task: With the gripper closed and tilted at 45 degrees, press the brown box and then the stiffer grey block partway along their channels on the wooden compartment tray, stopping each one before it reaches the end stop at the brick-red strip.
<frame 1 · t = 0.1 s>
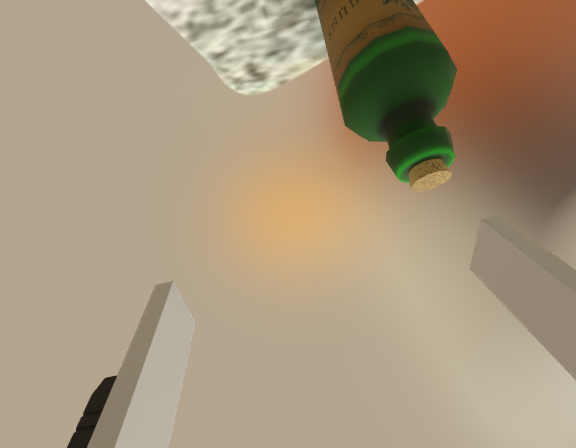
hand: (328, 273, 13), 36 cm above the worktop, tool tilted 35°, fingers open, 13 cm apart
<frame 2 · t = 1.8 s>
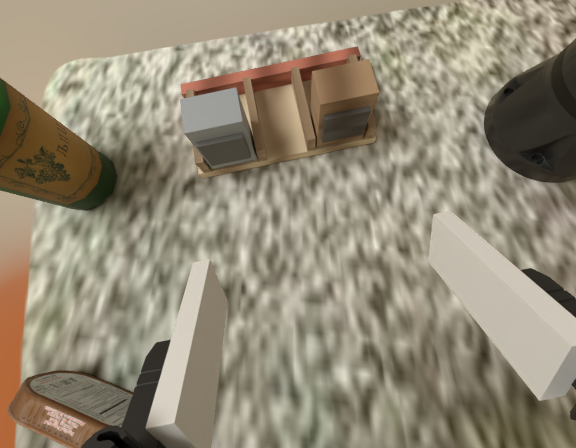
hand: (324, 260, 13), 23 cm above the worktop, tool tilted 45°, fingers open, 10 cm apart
grey block: (223, 135, 34), point 6 cm above the worktop, slide at 0.0 cm
tin: (116, 394, 34), on the worktop
brown box: (340, 110, 33), point 6 cm above the worktop, slide at 0.0 cm
bottle: (90, 182, 41), on the worktop
wooden compartment tray: (279, 122, 41), on the worktop
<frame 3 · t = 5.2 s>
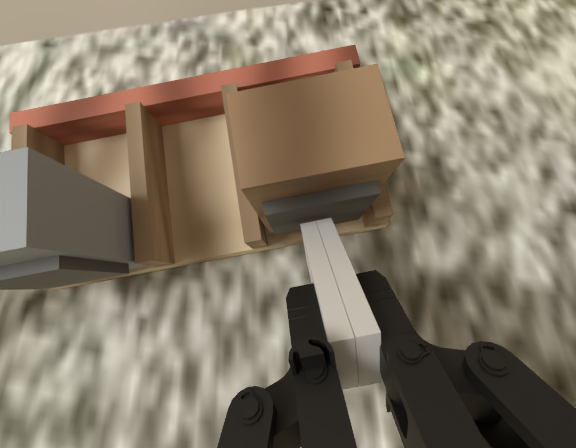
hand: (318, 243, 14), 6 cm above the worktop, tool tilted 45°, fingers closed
grey block: (52, 237, 15), point 6 cm above the worktop, slide at 0.0 cm
brown box: (310, 176, 15), point 6 cm above the worktop, slide at 0.6 cm, touching gripper
wooden compartment tray: (210, 181, 22), on the worktop
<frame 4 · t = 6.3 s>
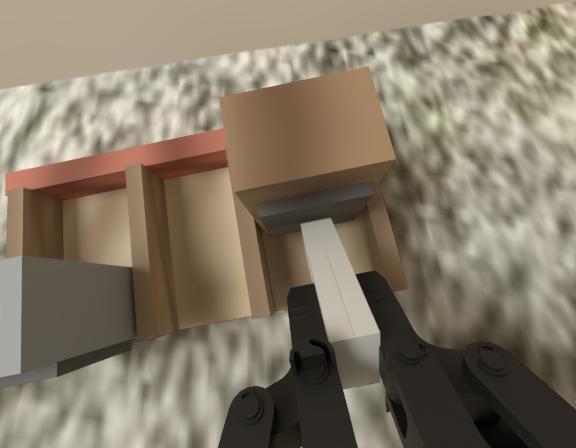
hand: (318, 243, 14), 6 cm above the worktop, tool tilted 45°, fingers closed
grey block: (50, 321, 14), point 6 cm above the worktop, slide at 0.0 cm
brown box: (305, 177, 15), point 6 cm above the worktop, slide at 4.8 cm, touching gripper
wooden compartment tray: (214, 236, 21), on the worktop
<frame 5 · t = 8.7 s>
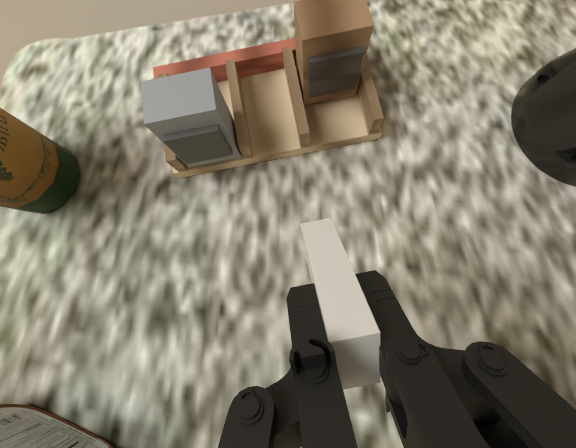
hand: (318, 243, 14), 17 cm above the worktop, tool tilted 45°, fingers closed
grey block: (198, 127, 28), point 6 cm above the worktop, slide at 0.0 cm
tin: (71, 431, 29), on the worktop
brown box: (329, 57, 29), point 6 cm above the worktop, slide at 4.8 cm
bottle: (50, 181, 35), on the worktop
wooden compartment tray: (269, 113, 35), on the worktop
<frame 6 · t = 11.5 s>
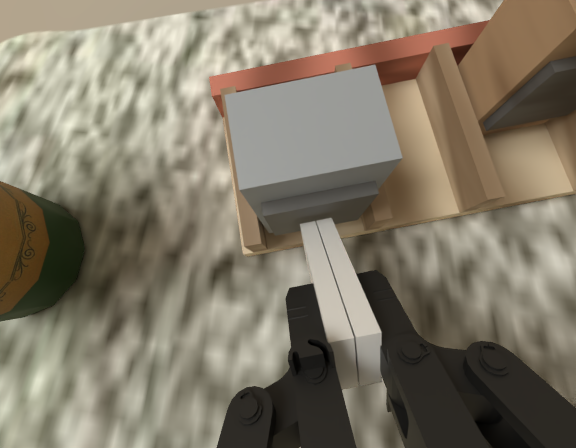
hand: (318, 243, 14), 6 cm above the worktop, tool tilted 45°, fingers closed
grey block: (309, 176, 15), point 6 cm above the worktop, slide at 0.8 cm, touching gripper
brown box: (545, 61, 16), point 6 cm above the worktop, slide at 4.8 cm
bottle: (36, 257, 22), on the worktop
wooden compartment tray: (389, 149, 22), on the worktop
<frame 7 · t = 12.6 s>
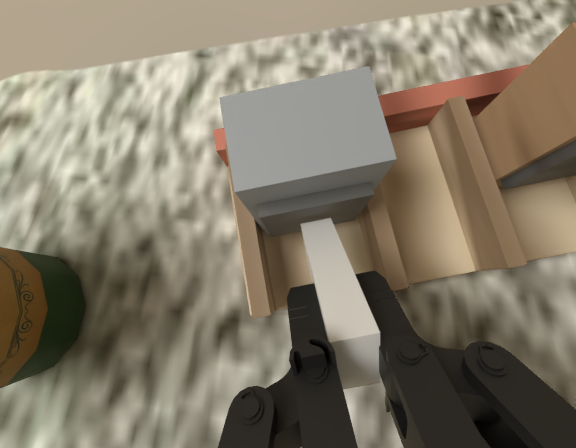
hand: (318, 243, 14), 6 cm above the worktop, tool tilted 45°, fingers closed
grey block: (305, 177, 15), point 6 cm above the worktop, slide at 4.7 cm, touching gripper
brown box: (568, 123, 15), point 6 cm above the worktop, slide at 4.8 cm
bottle: (35, 312, 21), on the worktop
wooden compartment tray: (400, 198, 21), on the worktop
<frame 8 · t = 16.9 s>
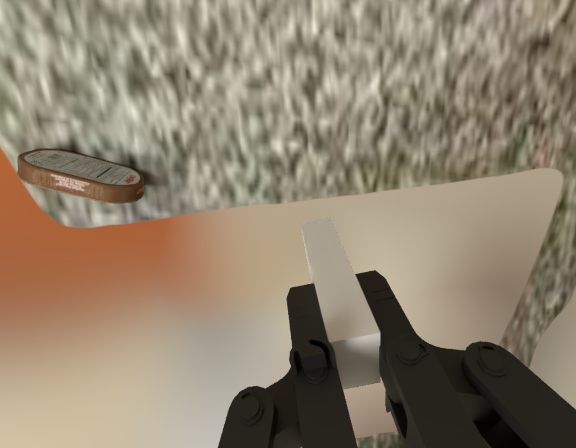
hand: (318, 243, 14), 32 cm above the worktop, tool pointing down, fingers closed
tin: (100, 164, 44), on the worktop
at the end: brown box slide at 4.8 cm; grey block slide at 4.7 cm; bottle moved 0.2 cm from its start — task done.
